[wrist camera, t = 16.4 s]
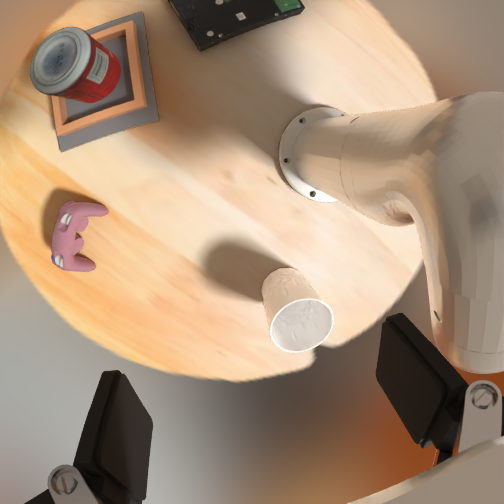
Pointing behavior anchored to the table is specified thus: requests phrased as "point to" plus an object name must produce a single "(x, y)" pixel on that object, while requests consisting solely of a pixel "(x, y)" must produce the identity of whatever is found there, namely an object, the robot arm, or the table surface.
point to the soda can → (74, 67)
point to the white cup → (295, 311)
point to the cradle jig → (121, 98)
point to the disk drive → (230, 17)
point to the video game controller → (73, 235)
